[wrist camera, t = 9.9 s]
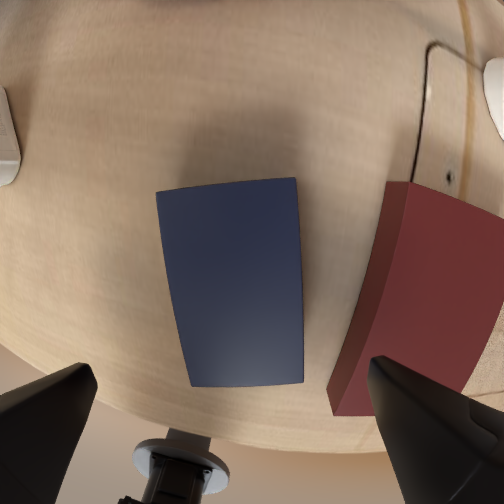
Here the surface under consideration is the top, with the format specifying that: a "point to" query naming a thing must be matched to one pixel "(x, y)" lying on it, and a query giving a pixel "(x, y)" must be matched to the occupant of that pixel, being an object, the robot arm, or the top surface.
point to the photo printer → (7, 143)
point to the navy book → (236, 280)
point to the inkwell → (495, 91)
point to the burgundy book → (423, 294)
